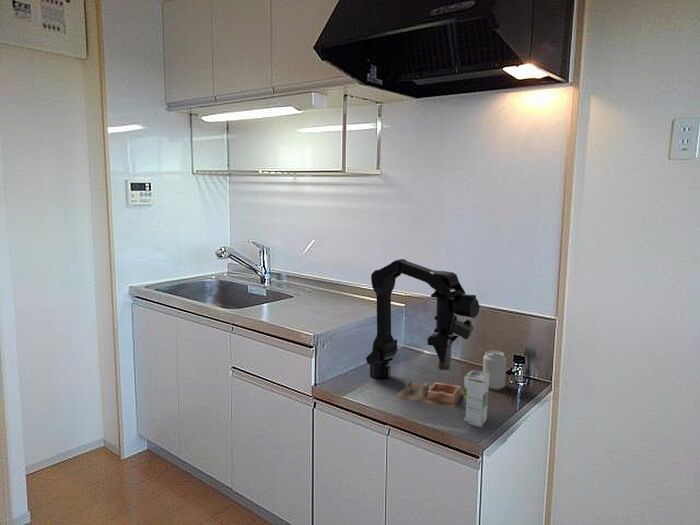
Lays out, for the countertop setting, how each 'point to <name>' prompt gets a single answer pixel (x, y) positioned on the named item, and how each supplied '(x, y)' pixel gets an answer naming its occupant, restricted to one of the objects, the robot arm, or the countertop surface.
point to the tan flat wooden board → (432, 393)
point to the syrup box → (475, 397)
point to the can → (495, 369)
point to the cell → (446, 360)
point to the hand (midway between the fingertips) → (444, 360)
